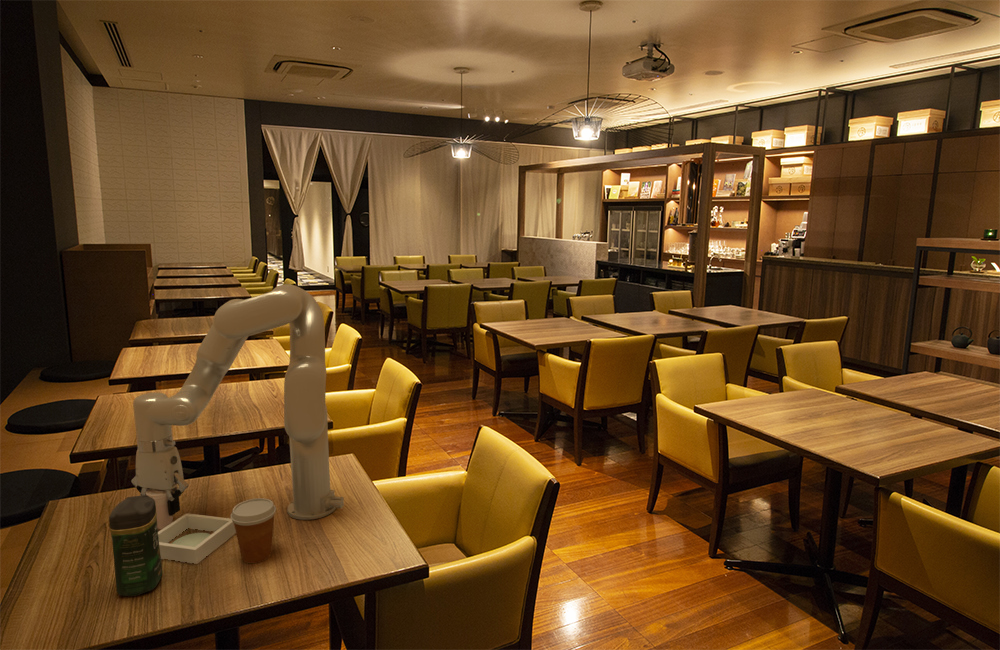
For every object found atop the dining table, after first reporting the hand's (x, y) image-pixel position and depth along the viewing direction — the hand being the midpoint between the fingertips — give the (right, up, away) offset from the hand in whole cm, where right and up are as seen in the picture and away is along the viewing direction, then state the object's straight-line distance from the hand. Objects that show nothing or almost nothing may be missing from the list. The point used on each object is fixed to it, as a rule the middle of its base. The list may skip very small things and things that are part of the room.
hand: (162, 511), depth 149 cm
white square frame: (+11, -5, -8) cm, 15 cm away
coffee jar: (+9, -8, -23) cm, 26 cm away
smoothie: (0, -4, +1) cm, 4 cm away
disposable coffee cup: (+29, -7, -13) cm, 32 cm away
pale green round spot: (+11, -5, -8) cm, 15 cm away
